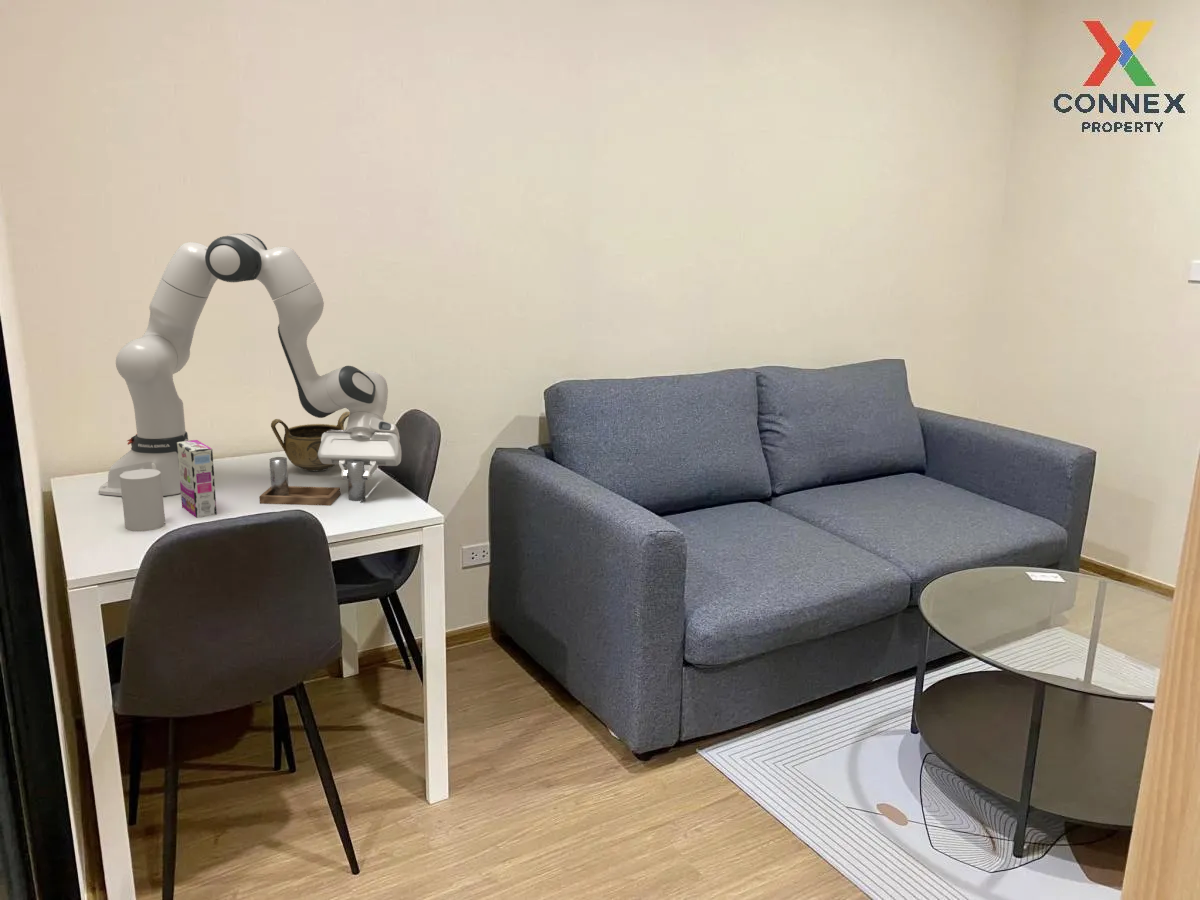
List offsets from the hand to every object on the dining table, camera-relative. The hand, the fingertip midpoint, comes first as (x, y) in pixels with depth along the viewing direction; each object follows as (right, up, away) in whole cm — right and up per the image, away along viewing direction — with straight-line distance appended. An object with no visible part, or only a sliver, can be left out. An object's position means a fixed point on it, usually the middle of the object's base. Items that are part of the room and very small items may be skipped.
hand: (355, 478), depth 229 cm
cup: (-42, -10, -19) cm, 48 cm away
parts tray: (-14, -6, +1) cm, 15 cm away
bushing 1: (-19, -5, 0) cm, 19 cm away
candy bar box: (-34, -8, -10) cm, 36 cm away
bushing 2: (0, -6, +2) cm, 6 cm away
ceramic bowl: (-18, +2, +29) cm, 35 cm away
